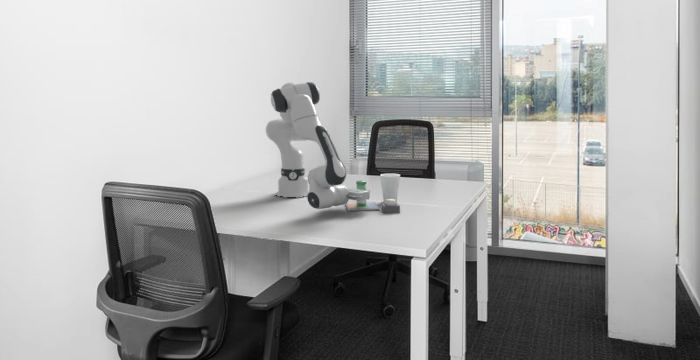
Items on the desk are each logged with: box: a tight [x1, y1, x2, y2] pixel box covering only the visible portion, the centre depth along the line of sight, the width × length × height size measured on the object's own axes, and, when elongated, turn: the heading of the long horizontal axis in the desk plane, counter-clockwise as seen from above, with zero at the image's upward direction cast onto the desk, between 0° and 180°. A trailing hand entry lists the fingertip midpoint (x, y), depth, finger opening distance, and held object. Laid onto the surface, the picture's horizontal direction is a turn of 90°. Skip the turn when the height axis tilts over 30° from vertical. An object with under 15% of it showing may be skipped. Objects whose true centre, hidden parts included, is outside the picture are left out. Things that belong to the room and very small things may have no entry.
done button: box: [384, 199, 397, 206], centre depth 238 cm, size 4×4×3 cm
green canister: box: [355, 179, 367, 206], centre depth 247 cm, size 5×5×11 cm
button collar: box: [380, 202, 401, 214], centre depth 238 cm, size 7×7×3 cm
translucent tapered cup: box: [379, 173, 401, 203], centre depth 258 cm, size 10×9×13 cm
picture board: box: [344, 202, 381, 212], centre depth 247 cm, size 15×14×1 cm
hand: (361, 190), depth 246 cm, fingers open, 8 cm apart
